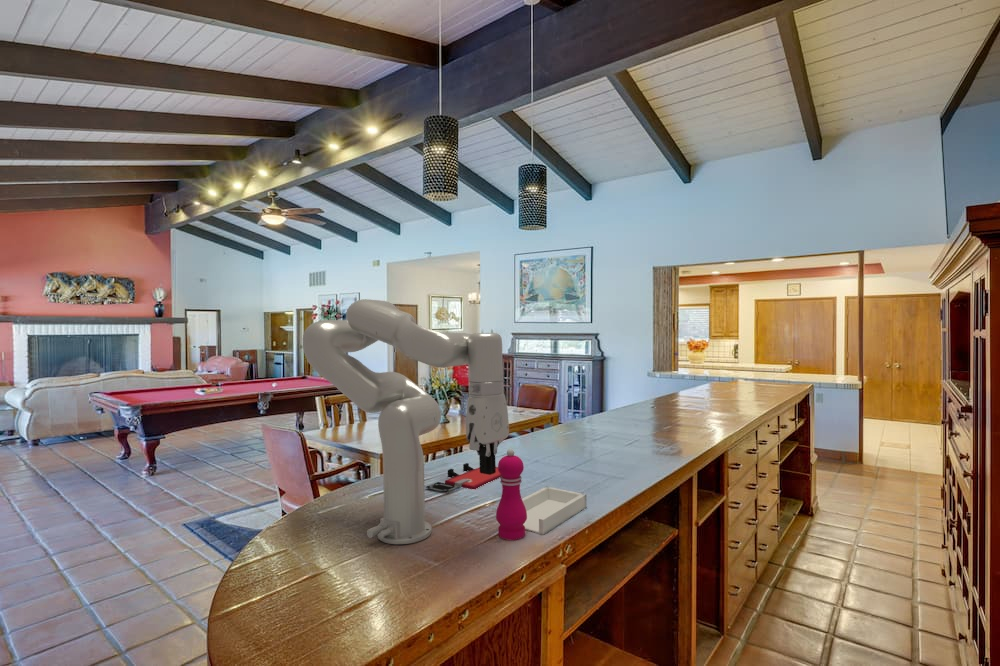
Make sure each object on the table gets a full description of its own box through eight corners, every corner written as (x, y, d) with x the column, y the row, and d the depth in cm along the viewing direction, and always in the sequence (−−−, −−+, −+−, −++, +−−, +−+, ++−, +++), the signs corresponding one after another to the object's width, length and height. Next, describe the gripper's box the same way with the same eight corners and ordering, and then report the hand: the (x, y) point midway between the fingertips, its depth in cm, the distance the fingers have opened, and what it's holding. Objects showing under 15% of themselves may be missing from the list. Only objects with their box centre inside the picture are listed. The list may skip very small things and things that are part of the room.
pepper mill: (511, 526, 121) (510, 444, 121) (533, 534, 116) (532, 448, 116) (489, 534, 116) (488, 449, 116) (512, 543, 111) (510, 454, 111)
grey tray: (543, 534, 115) (543, 519, 115) (500, 523, 123) (500, 509, 123) (586, 507, 133) (586, 494, 133) (546, 498, 140) (546, 486, 140)
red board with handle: (419, 489, 151) (458, 498, 143) (419, 480, 151) (458, 488, 143) (476, 467, 177) (512, 474, 169) (476, 459, 177) (512, 465, 169)
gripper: (477, 393, 100) (479, 484, 100) (519, 386, 112) (521, 467, 112) (450, 391, 105) (451, 478, 105) (493, 385, 117) (494, 463, 117)
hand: (487, 472), depth 108 cm, fingers closed
